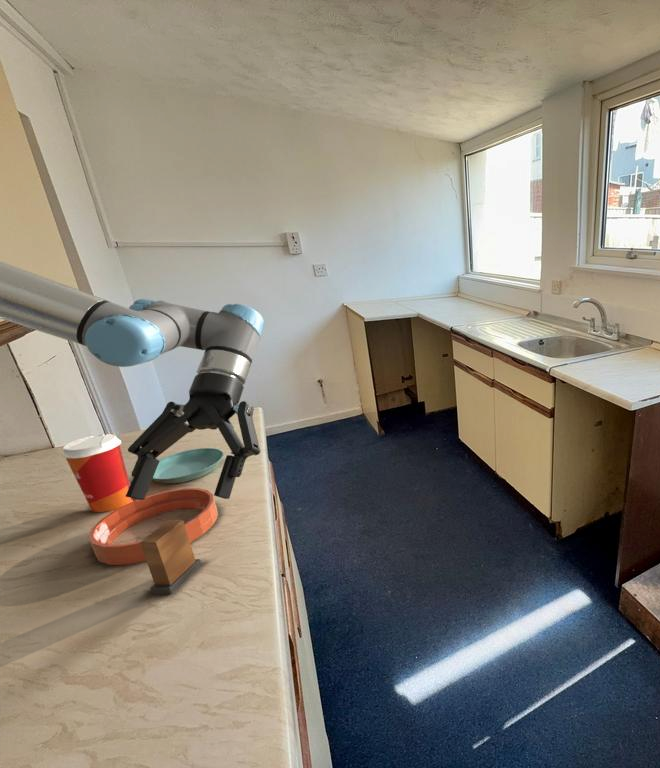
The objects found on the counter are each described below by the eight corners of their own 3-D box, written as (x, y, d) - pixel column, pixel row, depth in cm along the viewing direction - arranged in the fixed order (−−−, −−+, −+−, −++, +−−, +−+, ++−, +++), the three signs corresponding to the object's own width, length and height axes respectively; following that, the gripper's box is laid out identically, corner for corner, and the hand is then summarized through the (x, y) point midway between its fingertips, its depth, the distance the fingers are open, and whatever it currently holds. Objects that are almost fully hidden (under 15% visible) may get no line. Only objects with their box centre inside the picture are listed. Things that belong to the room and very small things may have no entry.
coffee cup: (100, 500, 84) (76, 436, 80) (147, 492, 87) (127, 430, 82) (75, 523, 77) (47, 454, 72) (128, 514, 80) (104, 447, 75)
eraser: (173, 598, 60) (154, 544, 57) (153, 598, 60) (134, 544, 57) (203, 568, 66) (187, 518, 63) (185, 568, 66) (169, 518, 63)
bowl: (67, 570, 66) (57, 547, 64) (153, 507, 82) (147, 488, 81) (173, 567, 66) (166, 545, 65) (238, 505, 82) (233, 487, 81)
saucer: (136, 494, 86) (133, 484, 85) (161, 463, 99) (158, 454, 98) (217, 480, 92) (215, 470, 91) (231, 452, 105) (229, 443, 104)
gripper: (298, 388, 77) (269, 501, 67) (167, 389, 76) (118, 503, 66) (279, 370, 70) (243, 491, 60) (134, 370, 69) (75, 493, 60)
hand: (178, 497), depth 63 cm, fingers open, 13 cm apart
